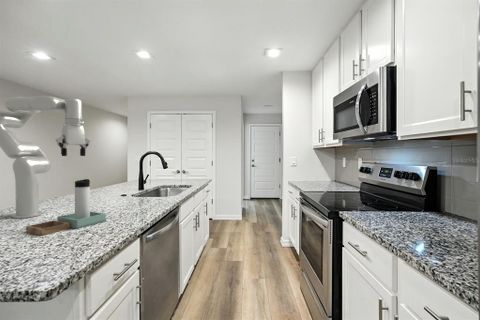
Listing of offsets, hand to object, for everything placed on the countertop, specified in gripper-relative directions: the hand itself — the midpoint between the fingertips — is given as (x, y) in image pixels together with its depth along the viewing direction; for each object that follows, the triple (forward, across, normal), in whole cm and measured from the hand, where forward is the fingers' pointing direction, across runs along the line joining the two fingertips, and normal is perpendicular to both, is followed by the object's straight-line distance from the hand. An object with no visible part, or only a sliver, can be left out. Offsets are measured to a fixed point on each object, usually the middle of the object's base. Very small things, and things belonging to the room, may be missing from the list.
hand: (73, 155), depth 136 cm
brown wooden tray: (+32, +19, +12) cm, 39 cm away
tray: (+32, +5, +14) cm, 36 cm away
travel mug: (+32, +5, +14) cm, 35 cm away
